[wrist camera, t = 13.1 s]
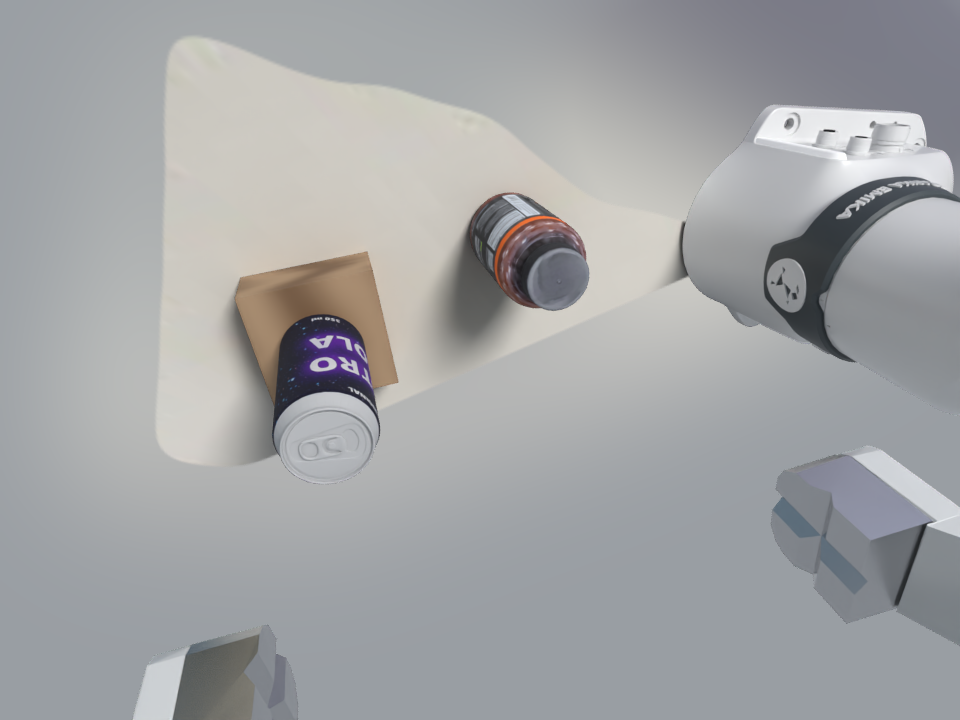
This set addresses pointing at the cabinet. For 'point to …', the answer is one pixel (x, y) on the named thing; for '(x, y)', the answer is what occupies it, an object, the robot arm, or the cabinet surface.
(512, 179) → the cabinet surface
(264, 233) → the cabinet surface
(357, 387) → the beverage can
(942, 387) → the robot arm
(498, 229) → the supplement bottle
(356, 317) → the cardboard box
